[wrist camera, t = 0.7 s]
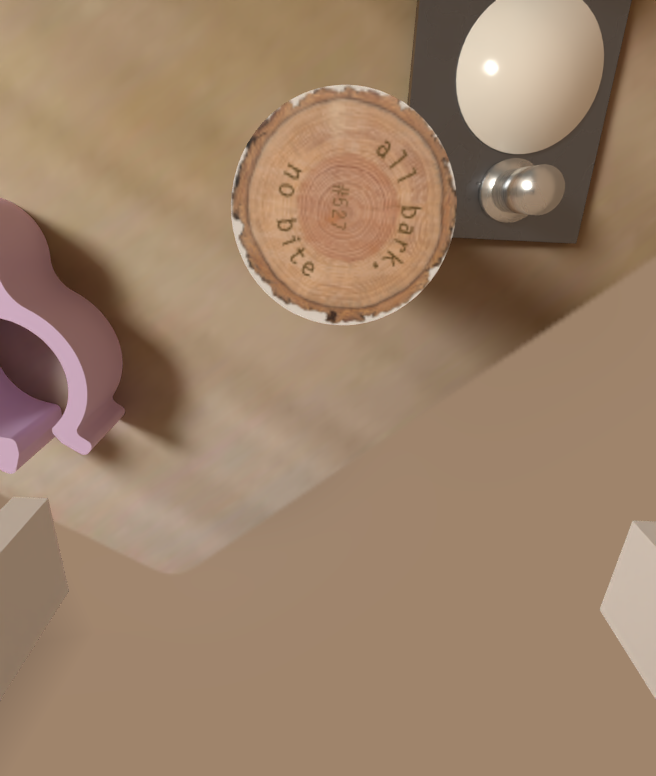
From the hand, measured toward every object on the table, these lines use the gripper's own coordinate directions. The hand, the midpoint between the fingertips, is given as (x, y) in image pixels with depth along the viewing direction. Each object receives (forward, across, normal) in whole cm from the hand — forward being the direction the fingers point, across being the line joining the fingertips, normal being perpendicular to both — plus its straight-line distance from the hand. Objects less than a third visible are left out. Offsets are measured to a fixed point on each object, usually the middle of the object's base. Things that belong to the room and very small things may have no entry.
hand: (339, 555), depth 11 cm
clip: (+32, -25, -5) cm, 41 cm away
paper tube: (+32, 0, +6) cm, 32 cm away
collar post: (+31, +13, +8) cm, 34 cm away
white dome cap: (+31, +13, +15) cm, 37 cm away
